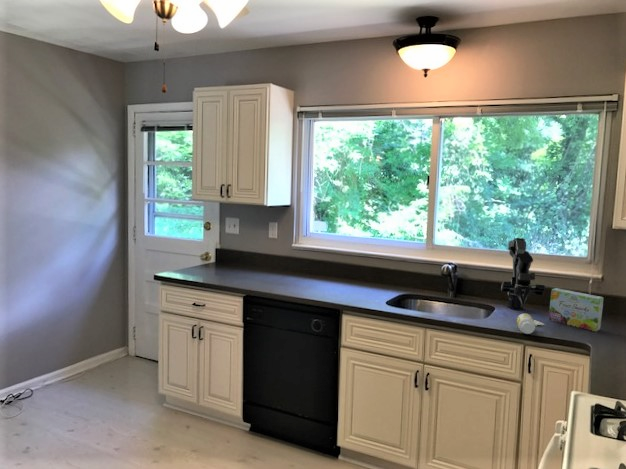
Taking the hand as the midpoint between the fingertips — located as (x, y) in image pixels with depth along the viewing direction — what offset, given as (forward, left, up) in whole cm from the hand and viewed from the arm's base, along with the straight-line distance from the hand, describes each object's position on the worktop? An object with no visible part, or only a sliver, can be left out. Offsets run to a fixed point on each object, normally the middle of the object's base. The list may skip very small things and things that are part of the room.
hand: (523, 303), depth 248 cm
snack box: (-21, +10, -8) cm, 24 cm away
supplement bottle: (+6, +9, -5) cm, 12 cm away
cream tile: (-3, +5, -8) cm, 10 cm away
